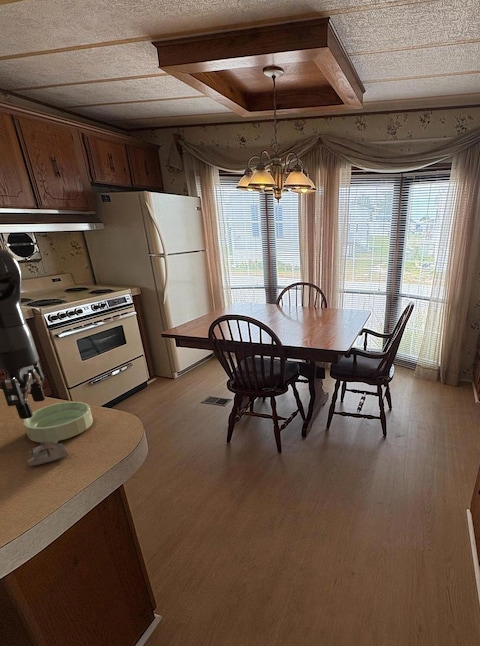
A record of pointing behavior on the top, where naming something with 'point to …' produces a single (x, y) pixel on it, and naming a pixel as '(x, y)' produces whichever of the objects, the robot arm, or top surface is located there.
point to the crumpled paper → (47, 453)
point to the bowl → (58, 421)
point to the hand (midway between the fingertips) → (33, 408)
